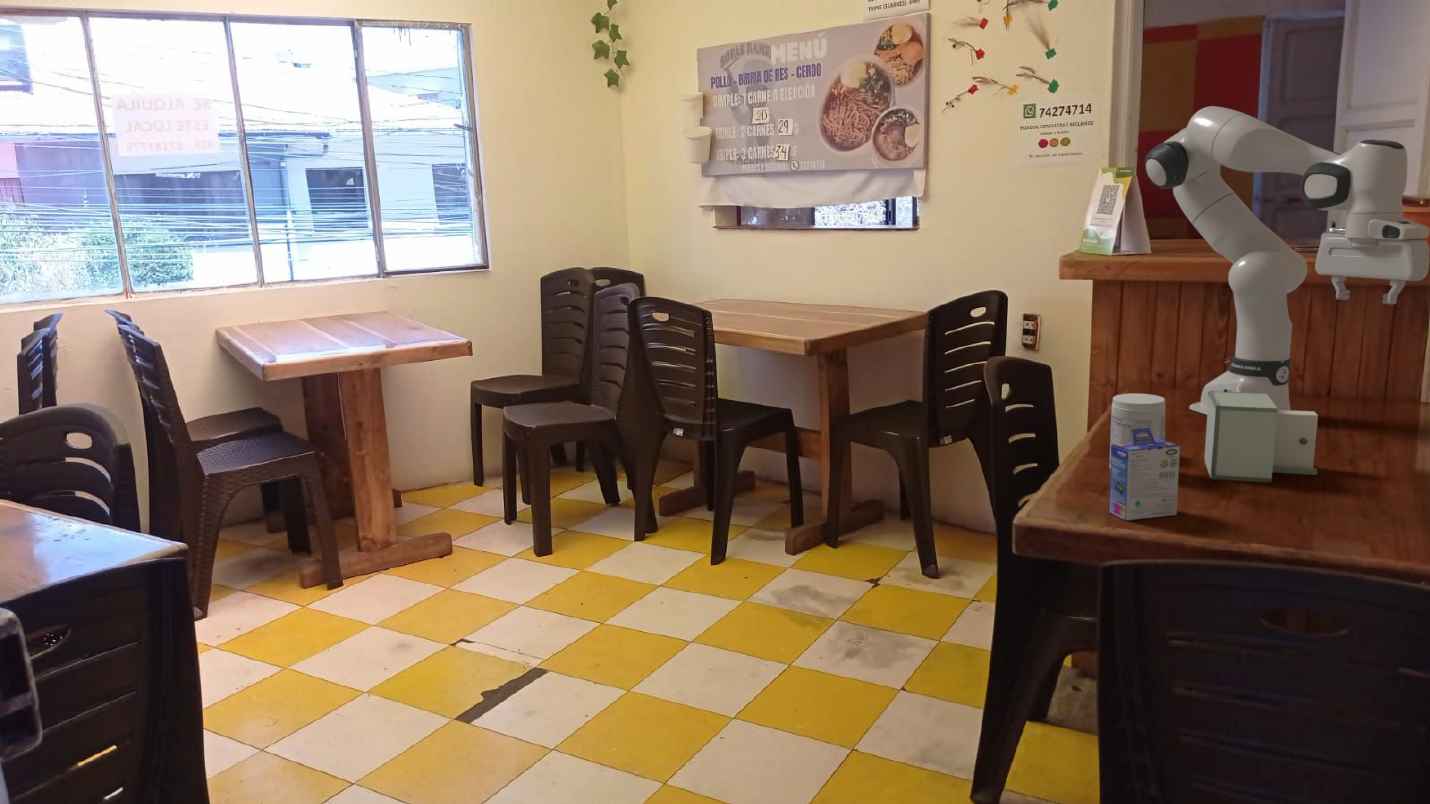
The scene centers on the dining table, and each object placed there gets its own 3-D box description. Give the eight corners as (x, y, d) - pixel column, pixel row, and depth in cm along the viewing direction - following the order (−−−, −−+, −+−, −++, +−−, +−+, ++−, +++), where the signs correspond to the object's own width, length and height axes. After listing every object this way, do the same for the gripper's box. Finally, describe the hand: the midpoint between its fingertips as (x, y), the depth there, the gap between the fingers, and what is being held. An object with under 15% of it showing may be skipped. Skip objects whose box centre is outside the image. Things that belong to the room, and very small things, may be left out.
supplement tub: (1133, 463, 197) (1137, 390, 194) (1173, 474, 188) (1178, 399, 185) (1097, 470, 193) (1101, 396, 190) (1137, 482, 184) (1141, 405, 181)
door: (1309, 467, 190) (1314, 411, 188) (1313, 472, 186) (1318, 416, 184) (1268, 464, 192) (1272, 409, 190) (1271, 470, 189) (1276, 414, 186)
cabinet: (1309, 464, 191) (1316, 394, 188) (1324, 486, 178) (1332, 410, 175) (1203, 458, 198) (1208, 390, 195) (1210, 478, 184) (1216, 405, 182)
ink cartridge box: (1157, 506, 170) (1162, 424, 167) (1178, 516, 165) (1184, 432, 162) (1106, 511, 168) (1110, 429, 165) (1125, 521, 163) (1130, 437, 160)
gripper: (1310, 227, 194) (1304, 298, 197) (1414, 230, 175) (1405, 307, 178) (1334, 226, 196) (1327, 296, 199) (1439, 228, 177) (1430, 305, 180)
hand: (1365, 301), depth 188 cm, fingers open, 8 cm apart
